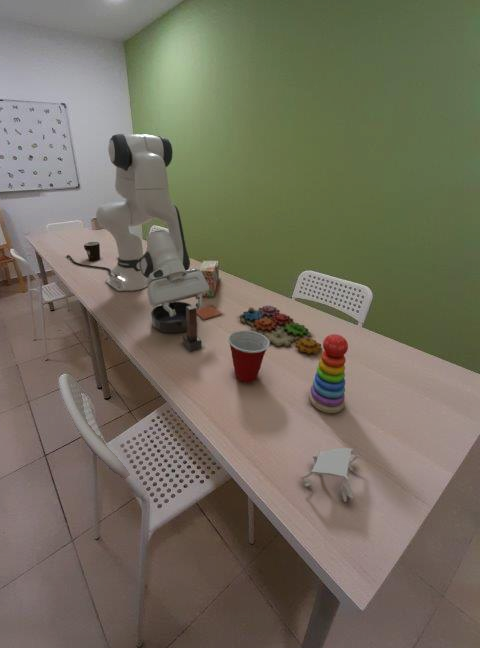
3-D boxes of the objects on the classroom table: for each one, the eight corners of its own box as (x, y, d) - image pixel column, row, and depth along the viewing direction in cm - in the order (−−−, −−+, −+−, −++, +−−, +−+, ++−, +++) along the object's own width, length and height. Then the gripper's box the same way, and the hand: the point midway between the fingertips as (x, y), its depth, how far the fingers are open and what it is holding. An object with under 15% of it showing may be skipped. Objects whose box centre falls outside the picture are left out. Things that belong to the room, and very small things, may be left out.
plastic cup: (274, 375, 83) (278, 338, 78) (251, 395, 76) (254, 357, 71) (242, 358, 90) (244, 323, 85) (218, 375, 83) (219, 339, 78)
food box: (206, 278, 149) (206, 254, 144) (218, 278, 148) (219, 254, 143) (199, 296, 130) (198, 270, 125) (213, 297, 129) (213, 270, 124)
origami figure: (341, 520, 50) (347, 502, 48) (296, 482, 56) (299, 465, 54) (371, 474, 57) (377, 456, 55) (328, 444, 62) (332, 427, 60)
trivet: (193, 311, 118) (193, 310, 117) (210, 306, 121) (210, 305, 121) (203, 320, 111) (203, 318, 111) (221, 314, 115) (221, 313, 114)
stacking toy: (348, 400, 73) (363, 335, 66) (337, 420, 68) (352, 352, 60) (315, 386, 78) (326, 324, 71) (303, 403, 73) (313, 338, 65)
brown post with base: (183, 343, 98) (181, 305, 92) (194, 340, 99) (192, 302, 94) (190, 351, 94) (189, 312, 88) (201, 347, 95) (200, 309, 90)
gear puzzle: (334, 350, 92) (337, 338, 91) (294, 365, 86) (295, 353, 85) (270, 308, 118) (271, 299, 116) (235, 317, 112) (235, 308, 110)
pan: (143, 324, 110) (142, 313, 108) (174, 307, 121) (173, 297, 119) (174, 339, 100) (174, 328, 98) (205, 320, 111) (205, 309, 109)
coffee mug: (103, 260, 180) (101, 244, 176) (89, 262, 176) (86, 246, 172) (98, 255, 189) (96, 239, 185) (84, 257, 185) (81, 242, 181)
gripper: (196, 271, 105) (211, 307, 101) (141, 284, 97) (155, 323, 93) (202, 263, 100) (218, 300, 96) (145, 275, 91) (159, 316, 87)
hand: (187, 312), depth 94 cm, fingers open, 8 cm apart
